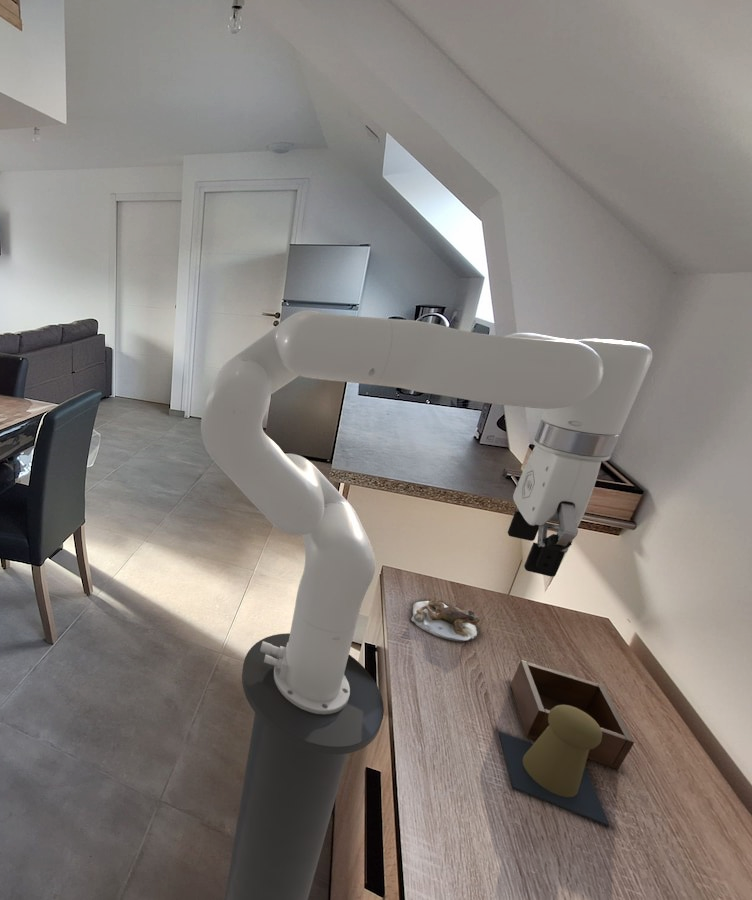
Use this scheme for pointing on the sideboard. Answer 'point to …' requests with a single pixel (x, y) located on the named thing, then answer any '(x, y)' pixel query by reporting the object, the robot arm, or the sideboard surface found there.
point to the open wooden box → (553, 688)
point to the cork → (563, 750)
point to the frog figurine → (445, 620)
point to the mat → (580, 804)
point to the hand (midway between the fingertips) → (528, 554)
